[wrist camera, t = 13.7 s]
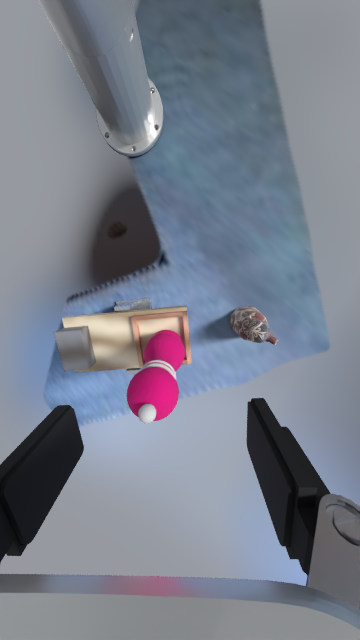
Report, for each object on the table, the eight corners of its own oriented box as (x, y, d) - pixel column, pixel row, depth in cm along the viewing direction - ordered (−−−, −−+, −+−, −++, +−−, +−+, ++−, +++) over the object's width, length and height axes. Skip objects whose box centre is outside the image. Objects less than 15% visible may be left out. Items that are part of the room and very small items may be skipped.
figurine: (243, 299, 43) (264, 309, 31) (266, 317, 43) (295, 332, 32) (224, 323, 44) (236, 341, 32) (246, 340, 45) (267, 363, 33)
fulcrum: (117, 300, 44) (101, 307, 36) (150, 297, 43) (141, 303, 35) (128, 358, 47) (115, 375, 39) (158, 355, 47) (152, 373, 39)
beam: (66, 316, 38) (50, 322, 34) (186, 305, 36) (186, 309, 32) (79, 368, 41) (66, 380, 36) (191, 360, 39) (191, 371, 35)
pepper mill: (175, 366, 38) (162, 460, 19) (143, 351, 37) (97, 432, 18) (191, 337, 36) (196, 407, 17) (158, 320, 36) (125, 373, 16)
